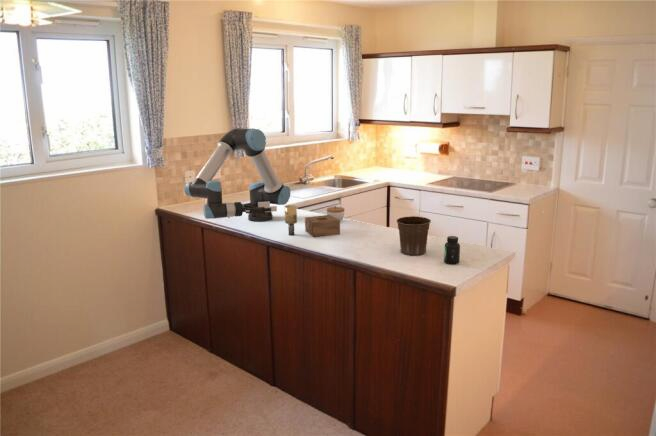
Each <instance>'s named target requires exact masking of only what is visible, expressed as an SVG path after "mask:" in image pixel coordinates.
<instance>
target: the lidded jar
mask: <svg viewBox="0 0 656 436" xmlns="http://www.w3.org/2000/svg"><path fill="white" fill-rule="evenodd" d="M326 215H331V216H333V217H335V218H336V219H338V220H340V223H341V222H342V220H343V219H344V217H345V208H344V207H341V206H337V205H335V206H330V207H328V208H326Z"/></svg>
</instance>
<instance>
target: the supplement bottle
mask: <svg viewBox="0 0 656 436" xmlns="http://www.w3.org/2000/svg"><path fill="white" fill-rule="evenodd" d="M446 239H447V240H446V242H445V243H444V251H443V253H444V254H443V255H444V256H443V258H444V259H443V261H444V264H446V265H451V266H452V265H458V264H459V263H460V261H461V260H460V255H461V245H460V243H459V237H458V236H455V235H448V236H447V237H446Z"/></svg>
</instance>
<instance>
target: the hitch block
mask: <svg viewBox="0 0 656 436" xmlns="http://www.w3.org/2000/svg"><path fill="white" fill-rule="evenodd" d="M304 226H305V227H304V229H305V230H304V231H305V232H306V233H308V234H309V235H310V236H312V237H313V238H322V237H324V238H325V237H332V236H337V235H338V236H339V235H341V222H340V220H338V219H336V218H335V217H333V216H331V215H327V214H324V215H315V216H314V215H313V216H305V217H304Z"/></svg>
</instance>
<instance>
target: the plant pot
mask: <svg viewBox="0 0 656 436" xmlns="http://www.w3.org/2000/svg"><path fill="white" fill-rule="evenodd" d="M431 222H432V220H431V219H430V218H428V217H424V216H403V217H399V218H397V219H396V223H397V229H398V233H399V244H400V253H402V254H404V255H405V256H406V255H407V256H408V255H409V256H410V257H411V256H412V257H413V256H414V257H415V256H416V257H418V256H422V255H424V254H426V252H427V244H428V235H429V229H430V226H431V225H430V224H431Z"/></svg>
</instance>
